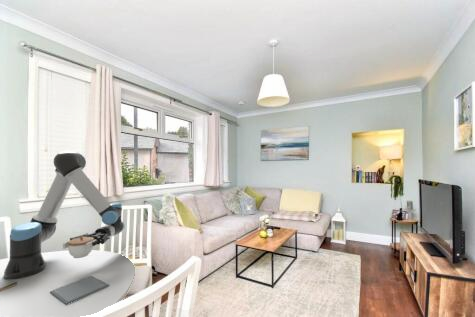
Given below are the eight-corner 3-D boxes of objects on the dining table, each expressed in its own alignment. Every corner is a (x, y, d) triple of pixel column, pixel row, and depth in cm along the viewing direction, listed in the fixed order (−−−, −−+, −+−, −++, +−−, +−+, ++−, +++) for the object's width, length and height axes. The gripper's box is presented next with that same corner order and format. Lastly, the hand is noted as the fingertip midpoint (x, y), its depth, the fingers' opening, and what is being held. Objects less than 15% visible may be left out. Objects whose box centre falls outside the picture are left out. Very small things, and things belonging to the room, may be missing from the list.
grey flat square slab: (49, 292, 94) (49, 291, 94) (91, 276, 108) (91, 275, 108) (66, 305, 85) (66, 303, 85) (109, 286, 99) (109, 284, 99)
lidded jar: (80, 261, 106) (81, 240, 106) (61, 259, 108) (62, 239, 108) (98, 252, 116) (99, 234, 116) (81, 251, 118) (82, 233, 119)
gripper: (123, 240, 129) (98, 254, 107) (84, 239, 130) (51, 253, 108) (124, 226, 130) (98, 238, 108) (85, 226, 131) (52, 237, 109)
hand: (75, 246), depth 108 cm, fingers closed on lidded jar, 11 cm apart
